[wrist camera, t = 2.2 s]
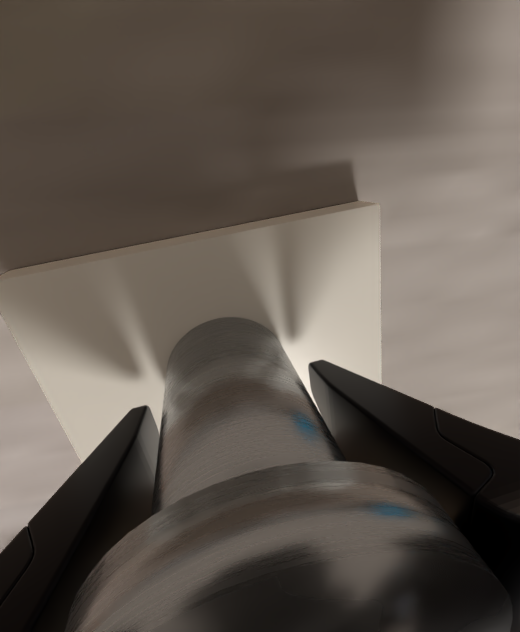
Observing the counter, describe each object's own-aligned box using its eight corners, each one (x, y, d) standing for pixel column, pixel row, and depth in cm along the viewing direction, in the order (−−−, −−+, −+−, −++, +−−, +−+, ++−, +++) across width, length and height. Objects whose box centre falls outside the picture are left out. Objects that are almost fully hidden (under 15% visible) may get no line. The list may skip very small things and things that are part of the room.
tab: (358, 200, 10) (380, 203, 9) (365, 407, 13) (381, 427, 12) (9, 270, 9) (-16, 283, 8) (113, 478, 12) (105, 507, 11)
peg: (300, 271, 9) (557, 482, 3) (317, 415, 11) (482, 717, 5) (110, 314, 9) (-110, 706, 2) (165, 457, 11) (135, 864, 4)
